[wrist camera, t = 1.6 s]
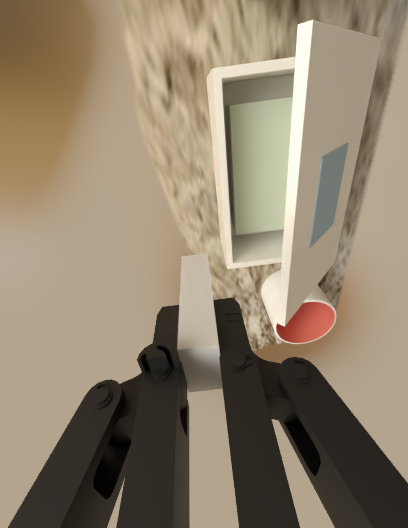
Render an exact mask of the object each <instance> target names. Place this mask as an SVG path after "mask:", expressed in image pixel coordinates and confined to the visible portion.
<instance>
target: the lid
mask: <svg viewBox="0 0 408 528" xmlns="http://www.w3.org/2000/svg"><path fill="white" fill-rule="evenodd" d="M381 42H382V38H378V37H375V36H371V35H367V34H364V33H360V32H356V31H353V30H349V29H345V28H341V27H338V26H334V25H330V24H327V23H323V22H319V21H316V20H311V21H307V22H304V23H301V24H298V29H297V44H296V58H295V73H294V88H293V102H292V117H291V131H290V146H289V161H288V175H287V190H286V205H285V219H284V234H283V248H282V263H281V278H280V292H279V307H278V321H277V323H278V324H280V325H282V326H284V327H285V326H286V324H287V323H288V322H289V321H290V319H291V318H292V317H293V315H294V314H295V313H296V311H297V310H298V309H299V308H300V306H301V305H302V304H303V302H304V301H305V300H306V299H307V297H308V296H309V295H310V293H311V292H312V291H313V290H314V288H315V287H316V286H317V284H318V283H319V282H320V280H321V279H322V278H323V277H324V275H325V274H326V273H327V271H328V270H329V269H330V268H331V266H332V265H333V264H334V262H335V261H336V256H337V251H338V246H339V242H340V237H341V232H342V227H343V223H344V218H345V213H346V208H347V204H348V199H349V194H350V190H351V185H352V180H353V175H354V171H355V166H356V161H357V156H358V152H359V147H360V142H361V137H362V133H363V128H364V123H365V118H366V114H367V109H368V104H369V99H370V95H371V90H372V85H373V80H374V76H375V71H376V66H377V61H378V57H379V52H380V47H381Z"/></svg>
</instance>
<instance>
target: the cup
mask: <svg viewBox="0 0 408 528" xmlns="http://www.w3.org/2000/svg"><path fill="white" fill-rule="evenodd" d="M280 278H281V269H280V270H278V271H276V272H274V273H272V274H271V275H270V276H269V277H268V278H267V279H266V280H265V282H264V284H263V286H262V290H261V296H262V299H263V302H264V305H265V307H266V310H267V313H268V315H269V318H270V321H271V323H272V326H273V329H274V331H275V334H276V335H277V336H278V338H280V339H281V340H283V341H285V342H287V343H292V344H303V343H308V342H311V341H314V340H317V339H319V338H321V337H322V336H324V335H325V334H327V333H328V332H329V331H330V330H331V328H332V327H333V326H334V324H335V322H336V311H335V309H334V307H333V306H332V304H331V303H330V301H329V300H328V299H327V297H326V296H325V294H324V293H323V292H322V290H321V289H320V288H319V286H318V285H317V286H316V287H315V288H314V290H313V291H312V292H311V293H310V295H309V296H308V297H307V299H306V300H305V301H304V302H303V304H302V305H301V306H300V308H299V309H298V310H297V311H296V313H295V314H294V315H293V317H292V318H291V319H290V321H289V322H288V323H287V324H286V326H285V327H284V326H282V325H280V324H278V323H277V321H278V307H279V292H280Z"/></svg>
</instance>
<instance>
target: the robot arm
mask: <svg viewBox="0 0 408 528" xmlns="http://www.w3.org/2000/svg"><path fill="white" fill-rule="evenodd" d="M137 361H138V363H139V366H140V368H141V371H142V373H141V374H139V375H138V376H136V377H134V378H133V379H130V380H128V381H126V382H123V383H121V384H118V382H116V381H114V380H104V381H102V382H99V383H98V384H96V385H95V386H94V387H92V388H91V389H90V390H89V391H88V393H87V394H86V395H85V397H84V399H83V401H82V402H81V404H80V406H79V407H78V409H77V411H76V412H75V414H74V416H73V418H72V419H71V421H70V423H69V424H68V426H67V428H66V429H65V431H64V433H63V434H62V436H61V438H60V440H59V441H58V443H57V445H56V446H55V448H54V450H53V451H52V453H51V455H50V457H49V458H48V460H47V462H46V463H45V465H44V467H43V469H42V470H41V472H40V474H39V475H38V477H37V479H36V481H35V482H34V484H33V486H32V487H31V489H30V491H29V492H28V494H27V496H26V497H25V500H24V501H23V503H22V504H21V506H20V508H19V509H18V511H17V513H16V515H15V516H14V518H13V520H12V521H11V523H10V525H9V527H8V528H107V526H108V523H109V520H110V517H111V515H112V512H113V509H114V506H115V503H116V500H117V497H118V495H119V492H120V489H121V486H122V484H123V481H124V478H125V481H124V487H123V492H122V498H121V504H120V510H119V516H118V521H117V527H116V528H189V405H188V400H187V388H188V392H195V391H203V390H213V389H221V388H223V395H224V403H225V412H226V419H227V428H228V437H229V446H230V454H231V462H232V471H233V479H234V487H235V496H236V505H237V513H238V521H239V528H300V526H299V522H298V518H297V515H296V511H295V507H294V504H293V499H292V495H291V492H290V488H289V484H288V480H287V476H286V473H285V469H284V465H283V461H282V457H281V454H280V450H279V446H278V442H277V438H276V435H275V431H274V427H273V424H272V420H271V419H275V420H279V422H280V424H281V426H282V428H283V430H284V431H285V433H286V435H287V437H288V439H289V441H290V443H291V445H292V446H293V449H294V450H295V452H296V454H297V456H298V458H299V460H300V462H301V464H302V466H303V468H304V469H305V471H306V473H307V475H308V477H309V479H310V481H311V483H312V485H313V486H314V489H315V490H316V492H317V494H318V496H319V498H320V500H321V502H322V504H323V506H324V508H325V510H326V511H327V513H328V515H329V517H330V519H331V521H332V523H333V525H334V527H335V528H408V483H407V482H406V481H405V479H404V478H403V477H402V475H401V474H400V473H399V472H398V470H397V469H396V468H395V467H394V465H393V464H392V463H391V461H390V460H389V459H388V458H387V457H386V455H385V454H384V453H383V451H382V450H381V449H380V448H379V446H378V445H377V444H376V442H375V441H374V440H373V439H372V438H371V436H370V435H369V434H368V432H367V431H366V430H365V429H364V427H363V426H362V425H361V423H360V422H359V421H358V420H357V418H355V416H354V415H353V413H352V412H351V411H350V410H349V408H348V407H347V406H346V404H345V403H344V402H343V401H342V399H341V398H340V397H339V396H338V394H337V393H336V392H335V391H334V389H333V388H332V387H331V386H330V385H329V383H328V382H327V380H326V379H325V378H324V377H323V375H322V374H321V373H320V372H319V370H318V369H317V368H316V367H315V366H314V365H313V364H312V363H311V362H309V361H307V360H305V359H303V358H298V357H292V358H288V359H286V360H284V361H283V362H282V363H281V364H280V363H275V362H269V361H266V360H263V359H261V358H259V357H258V356H257V355H255V354H254V352H253V351H252V350H251V347H250V344H249V340H248V336H247V333H246V329H245V325H244V321H243V317H242V314H241V309H240V305H239V303H238V302H237V301H236V300H235V299H234V298H226V299H218V300H213V295H212V287H211V279H210V271H209V263H208V256H207V253H206V254H198V255H191V256H183V257H182V264H181V285H180V304H179V305H175V306H166V307H162V308H161V310H160V311H159V313H158V315H157V320H156V326H155V333H154V339H153V344H151V345H149V346H147V347H146V348H144V349H143V350H142V352H141V353H140V354H139V356H138V359H137Z"/></svg>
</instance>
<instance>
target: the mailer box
mask: <svg viewBox="0 0 408 528" xmlns="http://www.w3.org/2000/svg"><path fill="white" fill-rule="evenodd" d="M295 58H296V57H290V58H283V59H276V60H269V61H262V62H255V63H248V64H241V65H234V66H227V67H220V68H213V69H212V70H211V72H210V73H209V75H208V77H207V89H208V100H209V112H210V123H211V135H212V146H213V157H214V169H215V180H216V192H217V203H218V214H219V226H220V237H221V243H222V247H223V252H224V256H225V260H226V265H227V269H231V268H239V267H247V266H256V265H264V264H272V263H280V262H282V248H283V234H284V219H285V205H286V190H287V175H288V161H289V146H290V131H291V117H292V102H293V88H294V73H295Z"/></svg>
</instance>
